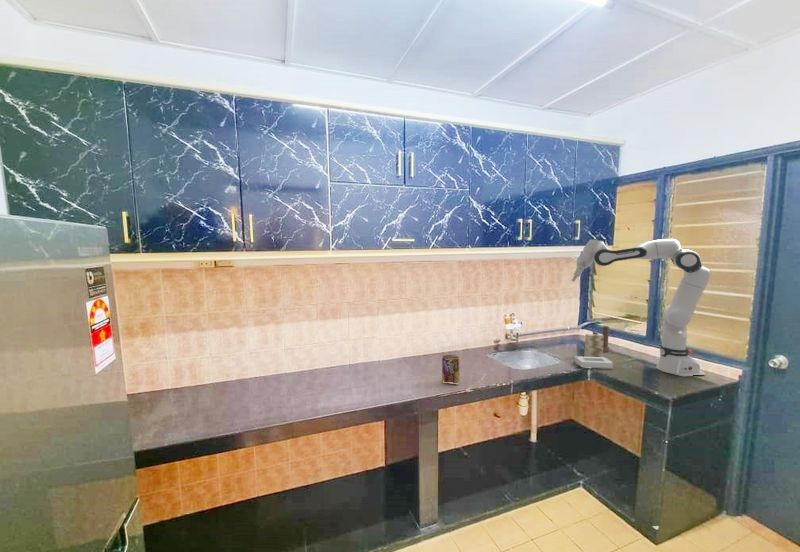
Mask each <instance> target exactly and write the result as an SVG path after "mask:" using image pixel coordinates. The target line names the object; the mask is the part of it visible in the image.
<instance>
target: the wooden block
mask: <svg viewBox="0 0 800 552" xmlns="http://www.w3.org/2000/svg"><path fill="white" fill-rule="evenodd" d="M609 333H610V326H608V325H603V326H602V335H604V345H603V353H609V351H610V347H609V337H610V336H609V335H610V334H609ZM592 334H598V333H597V332H595V331H593V332H592Z"/></svg>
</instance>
